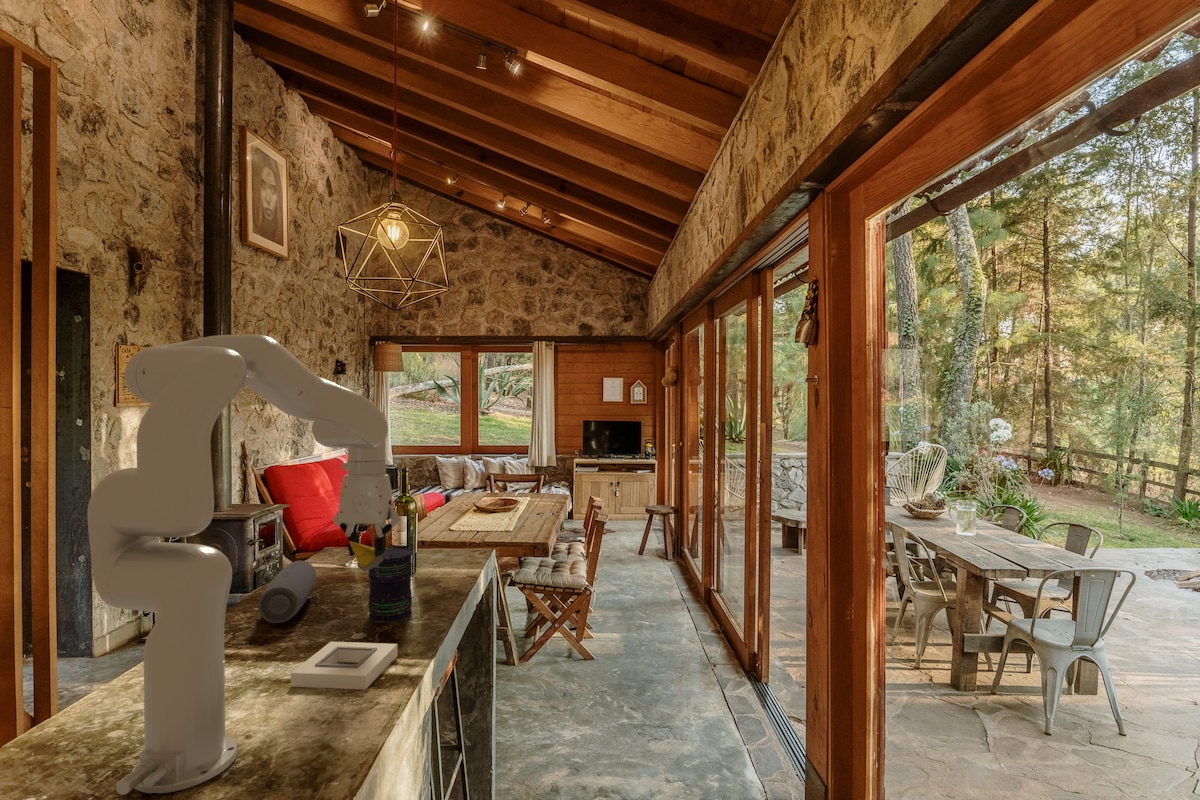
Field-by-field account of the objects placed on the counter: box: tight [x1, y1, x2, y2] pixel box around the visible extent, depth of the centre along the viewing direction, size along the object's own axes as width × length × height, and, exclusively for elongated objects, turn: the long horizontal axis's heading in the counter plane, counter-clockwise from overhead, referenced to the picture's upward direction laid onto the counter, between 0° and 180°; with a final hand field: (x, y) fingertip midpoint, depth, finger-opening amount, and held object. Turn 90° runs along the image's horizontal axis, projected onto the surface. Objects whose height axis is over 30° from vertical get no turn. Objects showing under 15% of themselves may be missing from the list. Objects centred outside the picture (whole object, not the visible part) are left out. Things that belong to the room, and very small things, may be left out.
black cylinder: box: [367, 547, 413, 624], centre depth 147 cm, size 10×10×15 cm
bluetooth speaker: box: [258, 560, 317, 624], centre depth 150 cm, size 23×9×10 cm, turn 15°
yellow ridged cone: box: [349, 541, 384, 572], centre depth 131 cm, size 5×5×10 cm
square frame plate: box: [290, 641, 399, 691], centre depth 118 cm, size 14×14×3 cm
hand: (367, 553), depth 131 cm, fingers closed on yellow ridged cone, 4 cm apart
